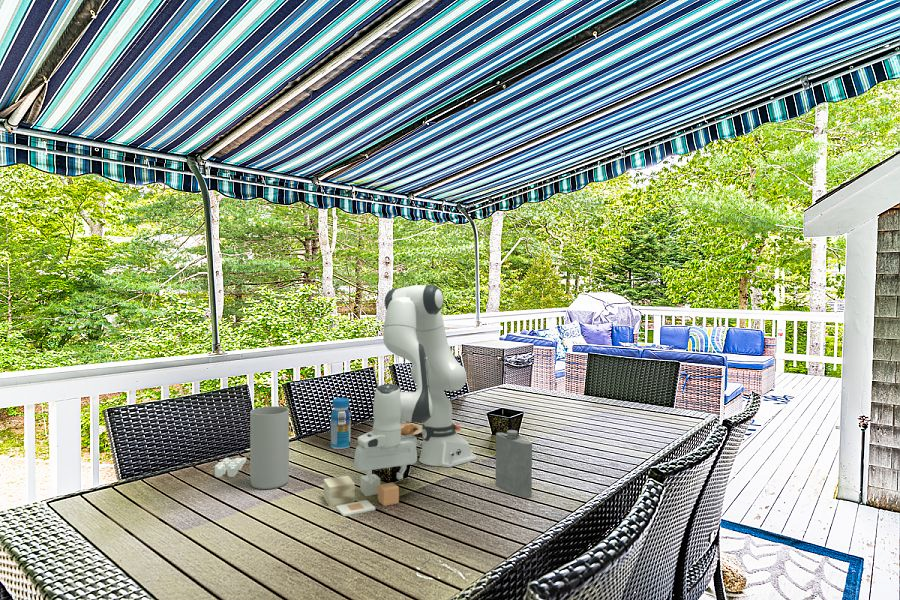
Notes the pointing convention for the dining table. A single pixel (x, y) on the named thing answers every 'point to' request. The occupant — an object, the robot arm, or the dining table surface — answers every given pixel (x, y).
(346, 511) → the card
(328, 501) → the birch block
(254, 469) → the cylinder vase
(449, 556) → the dining table surface
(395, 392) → the robot arm
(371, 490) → the grey cube
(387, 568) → the dining table surface
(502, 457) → the hip flask
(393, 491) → the terracotta cube
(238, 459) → the modular blocks
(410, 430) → the plate with food
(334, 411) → the beverage bottle
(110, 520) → the dining table surface
